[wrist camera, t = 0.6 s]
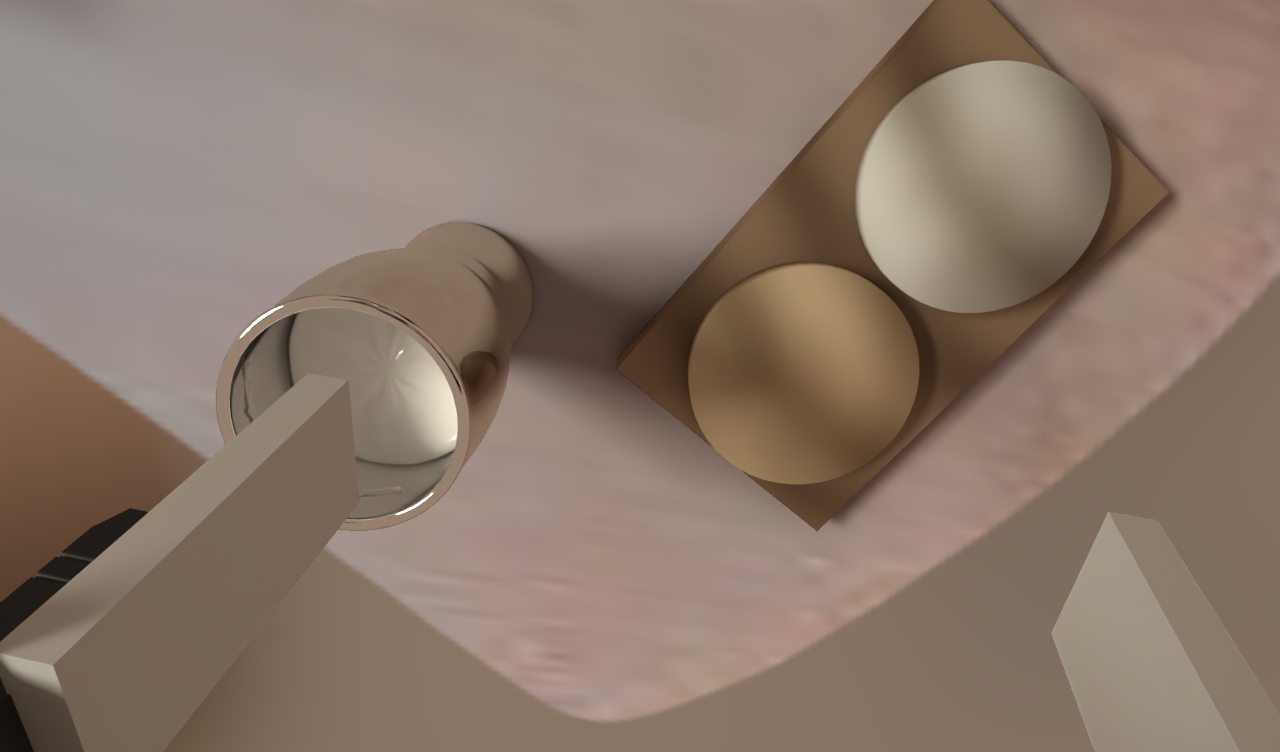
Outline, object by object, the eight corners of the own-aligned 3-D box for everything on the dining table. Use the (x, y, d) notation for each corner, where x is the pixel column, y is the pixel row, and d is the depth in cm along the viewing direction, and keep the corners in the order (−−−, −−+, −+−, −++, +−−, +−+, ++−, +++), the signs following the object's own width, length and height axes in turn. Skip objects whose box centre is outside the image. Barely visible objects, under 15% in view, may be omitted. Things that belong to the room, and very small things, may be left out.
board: (950, -19, 31) (977, -29, 29) (1146, 188, 34) (1188, 195, 31) (616, 358, 36) (615, 378, 33) (810, 515, 38) (822, 544, 36)
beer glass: (560, 236, 34) (504, 328, 20) (523, 385, 36) (449, 565, 22) (398, 191, 34) (221, 253, 19) (370, 345, 36) (192, 503, 22)
